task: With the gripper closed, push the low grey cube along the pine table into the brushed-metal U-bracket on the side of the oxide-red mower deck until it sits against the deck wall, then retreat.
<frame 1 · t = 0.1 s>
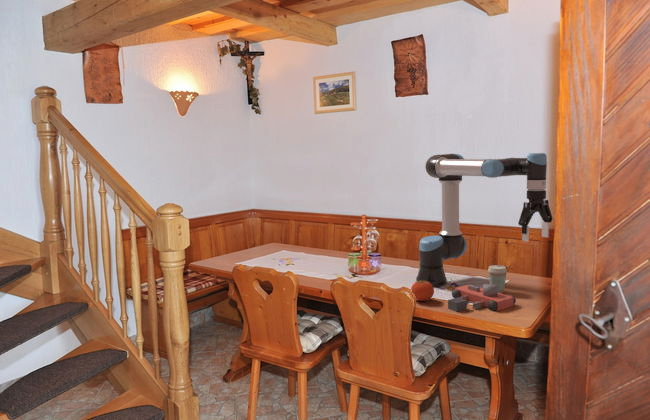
hand: (535, 239, 204), 28 cm above the table, fingers open, 13 cm apart
tomato: (422, 301, 215), on the table
mower deck: (482, 301, 211), on the table
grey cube: (457, 309, 203), on the table
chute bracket: (470, 304, 207), on the table
coffee cup: (497, 292, 223), on the table
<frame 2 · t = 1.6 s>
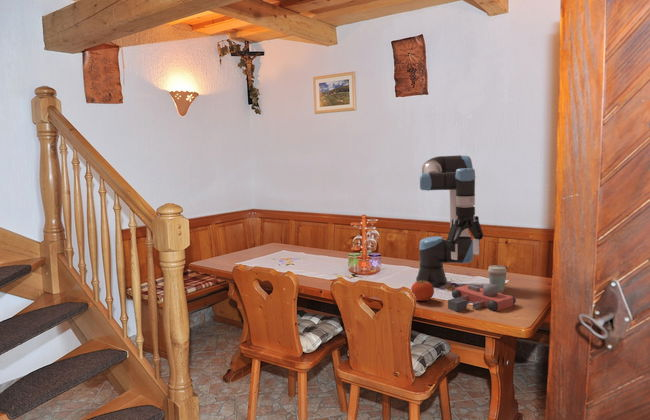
hand: (465, 256, 197), 23 cm above the table, fingers open, 13 cm apart
nothing on the table moved.
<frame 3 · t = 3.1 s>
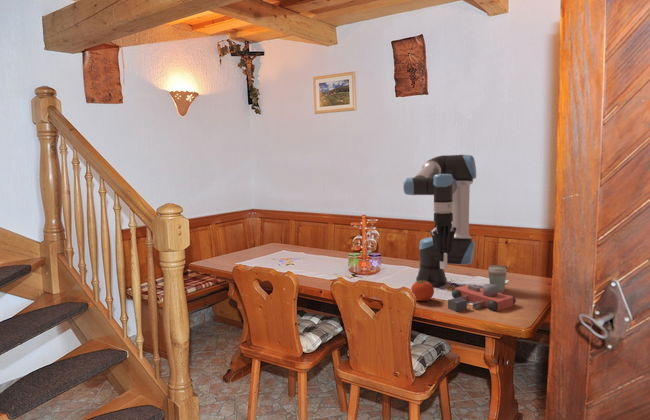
hand: (443, 268, 196), 19 cm above the table, fingers closed
nothing on the table moved.
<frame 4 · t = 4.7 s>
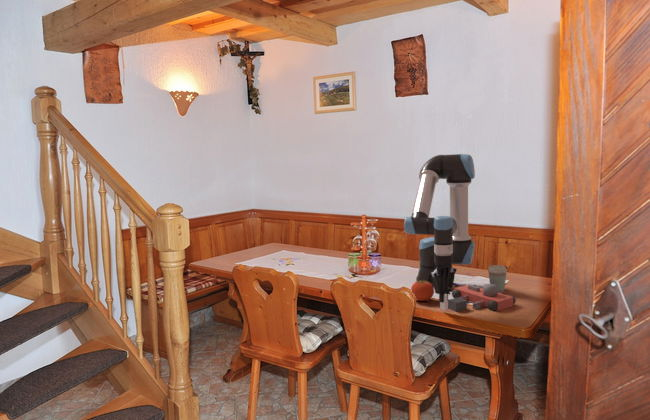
hand: (443, 309, 198), 2 cm above the table, fingers closed
nothing on the table moved.
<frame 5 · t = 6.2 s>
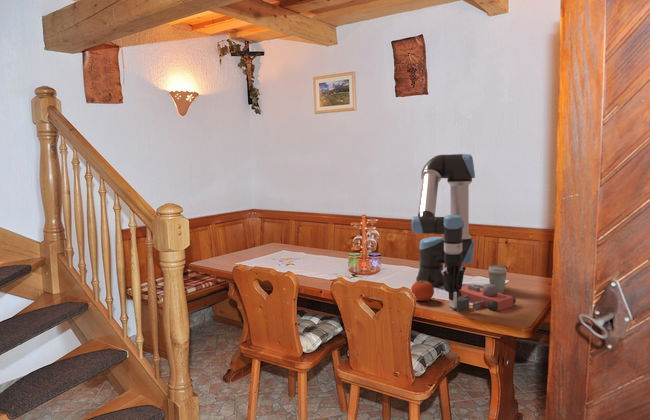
hand: (453, 306, 201), 1 cm above the table, fingers closed
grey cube: (459, 308, 203), on the table, touching gripper
everything else where it was.
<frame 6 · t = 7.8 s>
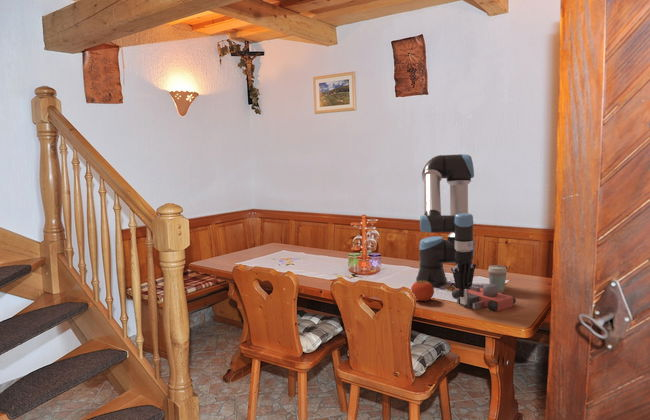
hand: (463, 303, 204), 1 cm above the table, fingers closed
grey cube: (469, 305, 207), on the table, touching gripper
everything else where it was.
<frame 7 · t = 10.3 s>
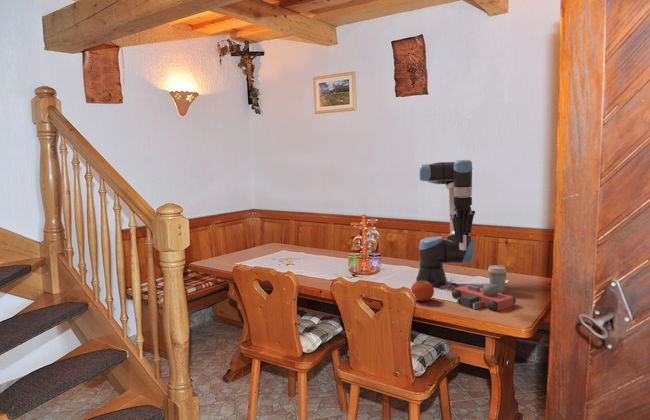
hand: (462, 249, 208), 24 cm above the table, fingers closed
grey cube: (469, 305, 207), on the table
everything else where it was.
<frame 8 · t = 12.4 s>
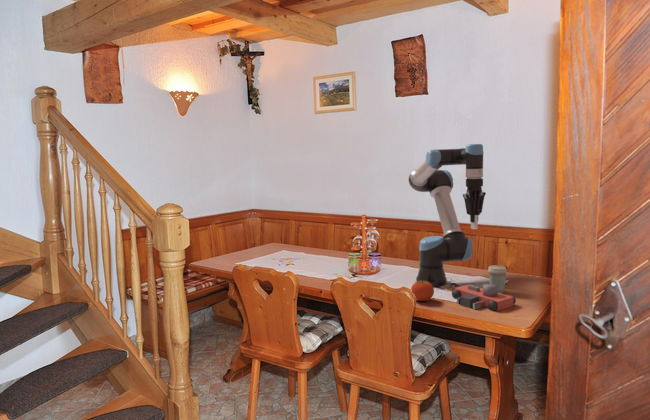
hand: (474, 228, 220), 30 cm above the table, fingers closed
nothing on the table moved.
at the end: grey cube 0.2 cm from the target spot, on the table; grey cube tilted 0° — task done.
